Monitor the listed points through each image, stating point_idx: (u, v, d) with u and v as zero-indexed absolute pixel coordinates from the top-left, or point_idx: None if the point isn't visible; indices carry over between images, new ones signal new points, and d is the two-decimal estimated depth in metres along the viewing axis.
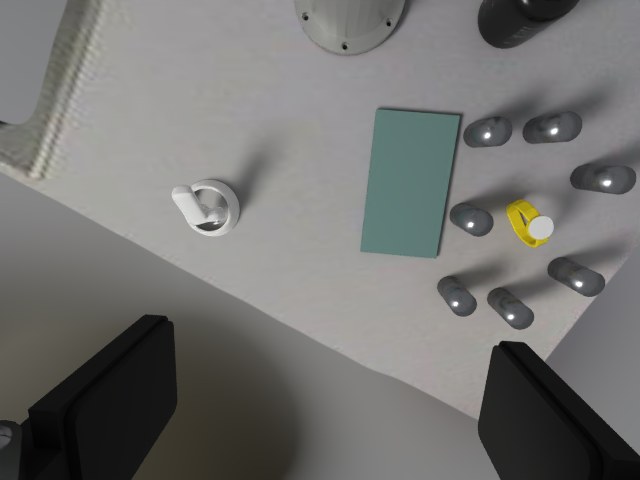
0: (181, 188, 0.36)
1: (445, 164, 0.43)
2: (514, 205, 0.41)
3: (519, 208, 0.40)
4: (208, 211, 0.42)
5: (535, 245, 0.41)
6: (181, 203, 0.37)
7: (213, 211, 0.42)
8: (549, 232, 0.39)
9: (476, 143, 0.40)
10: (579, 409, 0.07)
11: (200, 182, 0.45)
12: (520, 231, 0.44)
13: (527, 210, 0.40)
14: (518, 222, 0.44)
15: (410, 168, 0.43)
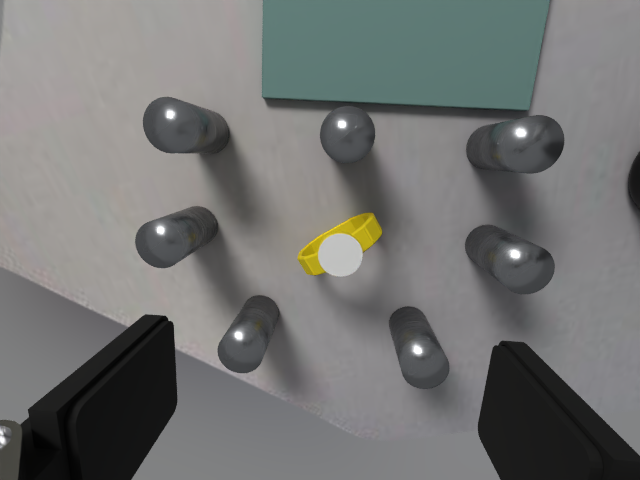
0: None
1: (442, 93, 0.23)
2: (372, 215, 0.23)
3: (370, 220, 0.22)
4: None
5: (303, 257, 0.23)
6: None
7: None
8: (332, 271, 0.21)
9: (491, 130, 0.21)
10: (579, 409, 0.07)
11: None
12: (320, 243, 0.26)
13: (369, 232, 0.21)
14: None
15: (438, 21, 0.22)
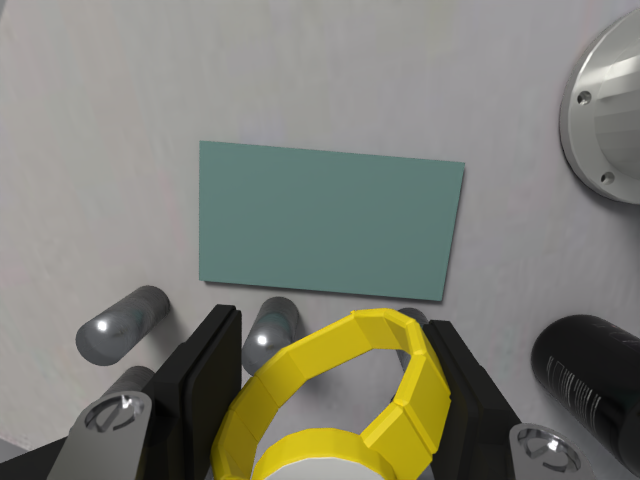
0: None
1: (364, 284, 0.25)
2: (421, 340, 0.08)
3: (421, 370, 0.07)
4: None
5: (217, 468, 0.08)
6: None
7: None
8: None
9: None
10: (473, 372, 0.08)
11: None
12: (283, 368, 0.11)
13: (420, 418, 0.07)
14: (320, 357, 0.11)
15: (358, 226, 0.24)
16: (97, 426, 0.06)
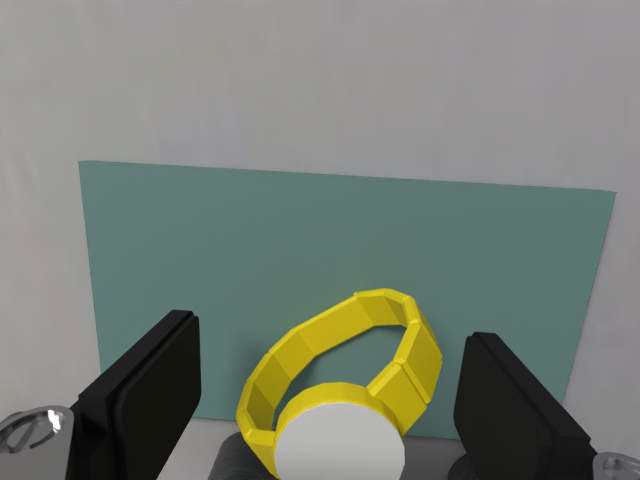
0: None
1: None
2: (416, 312, 0.09)
3: (416, 335, 0.08)
4: None
5: (244, 425, 0.09)
6: None
7: None
8: None
9: None
10: (537, 392, 0.07)
11: None
12: (294, 346, 0.12)
13: (416, 373, 0.08)
14: (327, 335, 0.13)
15: None
16: (7, 446, 0.06)
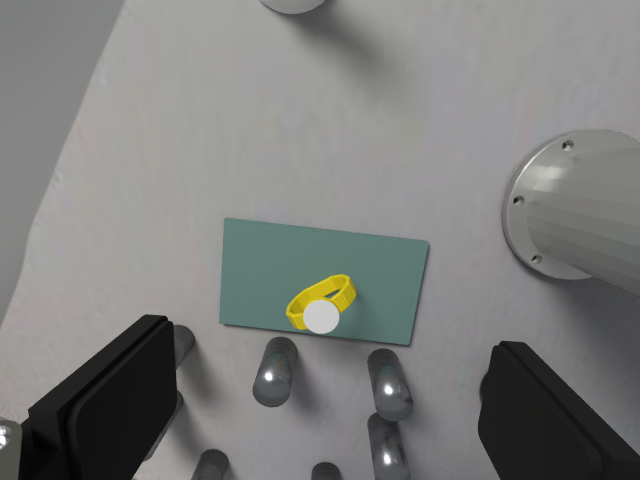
0: None
1: (349, 330, 0.32)
2: (349, 280, 0.28)
3: (346, 286, 0.27)
4: None
5: (290, 314, 0.27)
6: None
7: None
8: (314, 329, 0.26)
9: (376, 372, 0.30)
10: (579, 409, 0.07)
11: None
12: (305, 296, 0.31)
13: (345, 297, 0.26)
14: (318, 292, 0.31)
15: None
16: None
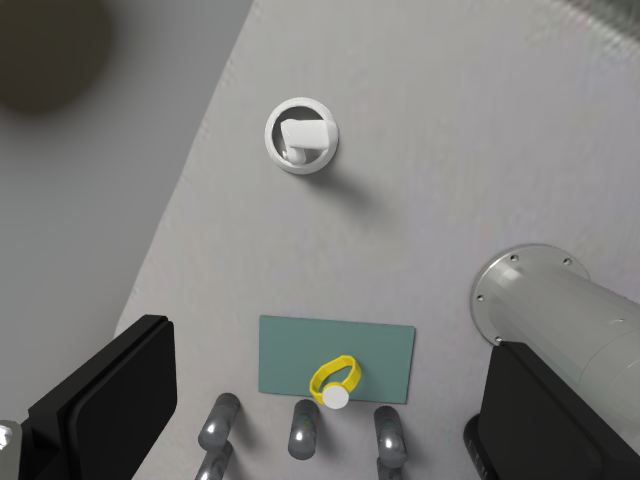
0: (334, 134, 0.27)
1: (357, 394, 0.42)
2: (354, 365, 0.37)
3: (353, 371, 0.37)
4: (300, 148, 0.32)
5: (313, 392, 0.37)
6: (313, 129, 0.27)
7: (300, 155, 0.32)
8: (331, 406, 0.36)
9: (380, 428, 0.40)
10: (579, 409, 0.07)
11: None
12: (323, 371, 0.41)
13: (352, 380, 0.36)
14: (332, 368, 0.41)
15: None
16: None
